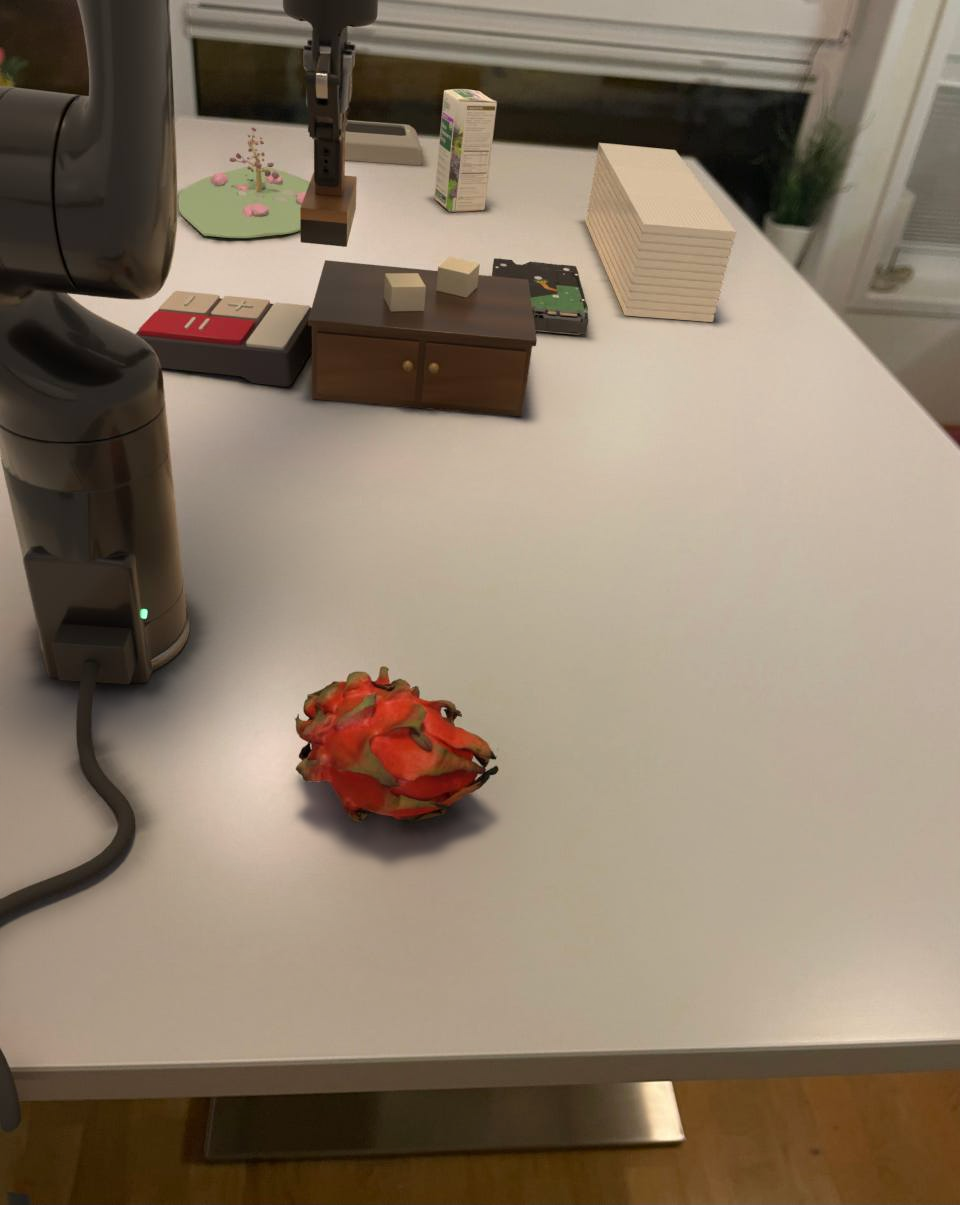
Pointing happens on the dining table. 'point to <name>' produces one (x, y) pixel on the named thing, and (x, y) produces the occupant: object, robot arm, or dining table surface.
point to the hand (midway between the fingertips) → (328, 178)
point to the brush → (329, 206)
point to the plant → (245, 201)
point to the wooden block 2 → (457, 277)
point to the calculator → (230, 336)
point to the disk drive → (550, 294)
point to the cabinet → (421, 343)
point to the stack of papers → (657, 233)
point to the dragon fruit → (389, 748)
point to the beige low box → (382, 143)
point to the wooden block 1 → (404, 292)
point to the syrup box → (464, 150)
